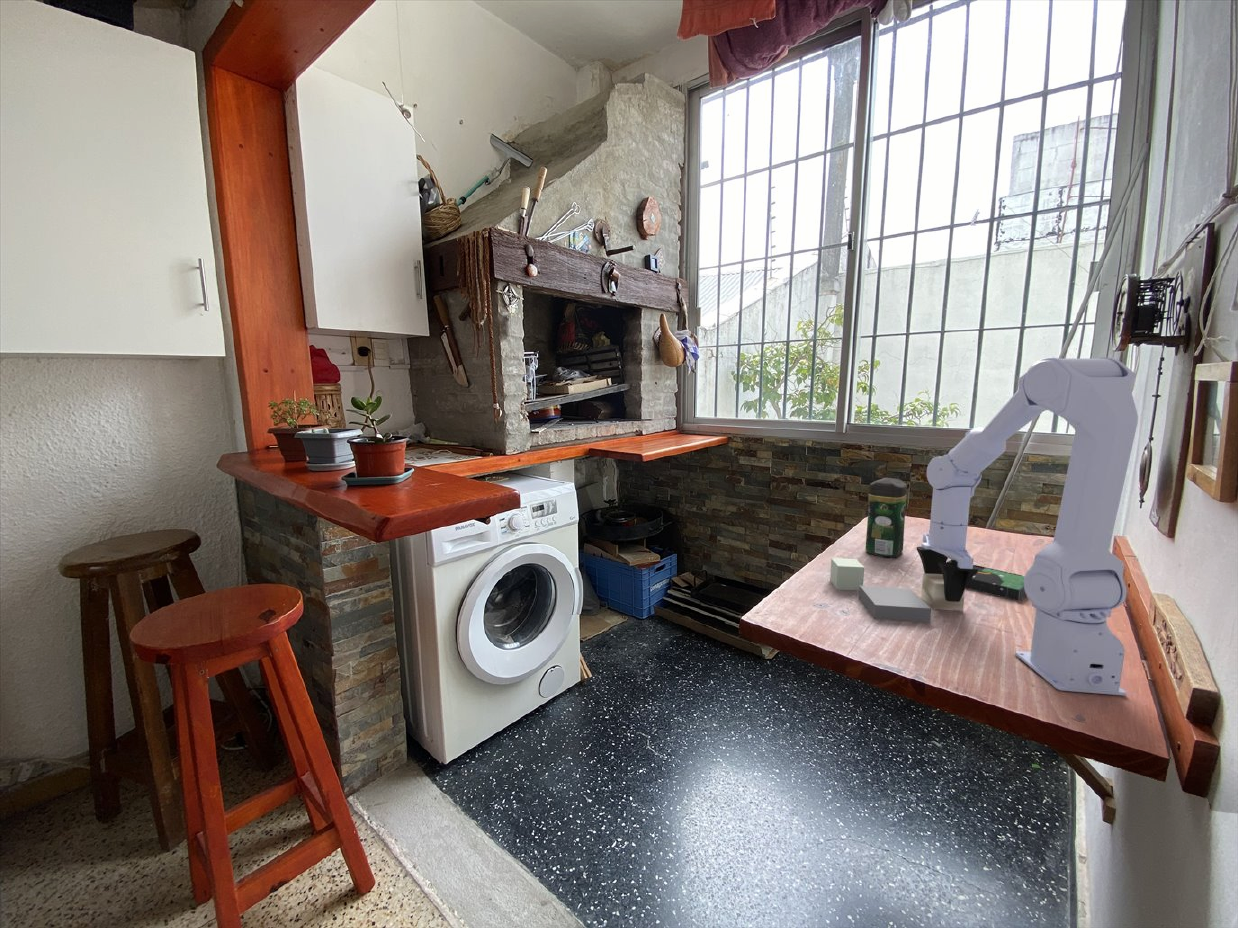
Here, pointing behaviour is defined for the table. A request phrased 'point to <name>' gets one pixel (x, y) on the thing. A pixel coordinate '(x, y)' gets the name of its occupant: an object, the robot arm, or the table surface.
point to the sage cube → (846, 573)
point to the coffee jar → (886, 517)
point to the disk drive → (998, 583)
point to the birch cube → (938, 593)
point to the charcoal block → (894, 604)
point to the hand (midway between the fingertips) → (942, 592)
